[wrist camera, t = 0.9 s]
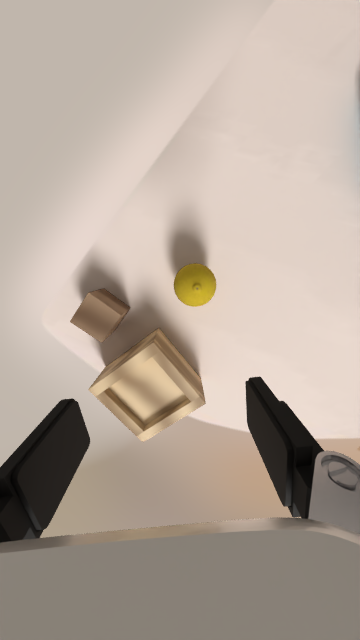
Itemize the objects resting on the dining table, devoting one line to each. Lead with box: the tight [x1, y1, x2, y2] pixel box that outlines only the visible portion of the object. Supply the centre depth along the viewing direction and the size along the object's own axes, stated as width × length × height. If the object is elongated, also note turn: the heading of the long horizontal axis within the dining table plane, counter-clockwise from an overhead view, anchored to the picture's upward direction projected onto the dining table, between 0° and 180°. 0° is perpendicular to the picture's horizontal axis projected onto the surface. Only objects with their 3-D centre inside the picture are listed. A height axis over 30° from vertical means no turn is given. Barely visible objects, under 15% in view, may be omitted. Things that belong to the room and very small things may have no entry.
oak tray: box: [89, 328, 206, 442], centre depth 29 cm, size 12×12×6 cm
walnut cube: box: [70, 289, 130, 343], centre depth 27 cm, size 5×5×5 cm
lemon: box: [174, 263, 216, 306], centre depth 24 cm, size 6×6×8 cm
